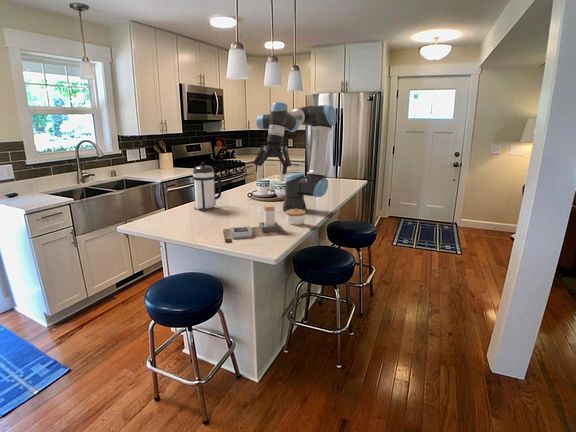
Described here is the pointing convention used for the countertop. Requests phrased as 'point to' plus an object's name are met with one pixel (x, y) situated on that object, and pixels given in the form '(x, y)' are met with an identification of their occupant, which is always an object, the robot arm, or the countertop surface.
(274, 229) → the frame
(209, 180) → the coffee press
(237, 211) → the countertop surface
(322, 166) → the robot arm
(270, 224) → the plug
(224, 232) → the walnut board
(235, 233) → the port
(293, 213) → the lidded jar
